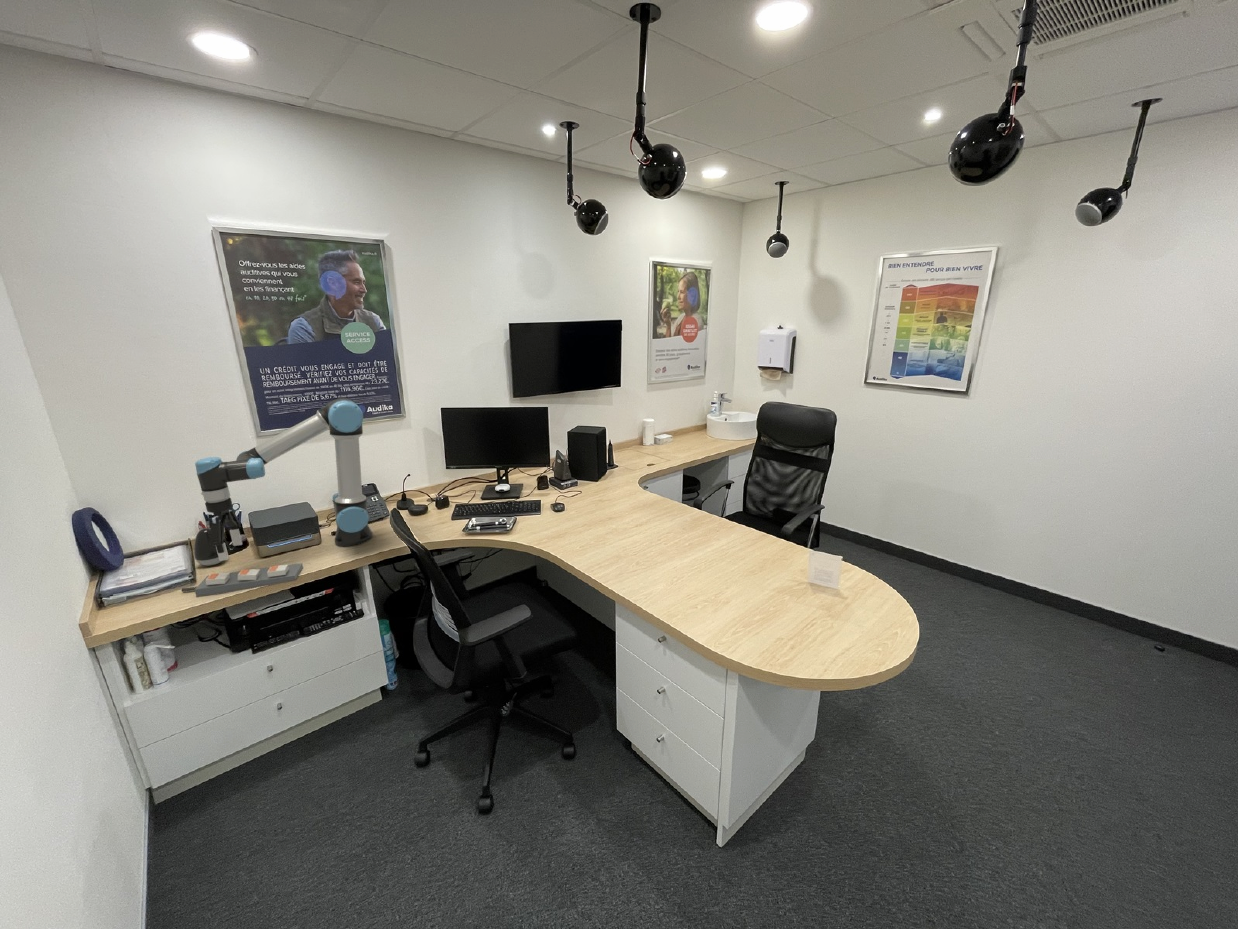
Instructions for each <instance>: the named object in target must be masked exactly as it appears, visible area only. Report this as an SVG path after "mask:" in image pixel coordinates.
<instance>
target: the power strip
mask: <svg viewBox="0 0 1238 929" xmlns="http://www.w3.org/2000/svg"><path fill="white" fill-rule="evenodd" d="M287 565H288V566H289V570H288V572H287V573H286V575H280V576H272V577H268V574H267V572H268V570H269V569H270V567H271V566H269V567H263V568H259V569H260V575H259V576H258V578H257V579H256V580H238V574H239V573H240V572H241V570H240V571H232V572H229V573H230V578H229V580H228V581H227V582H226V583H225V584H213V585H206V579H207V578H208V577H209V576H210V575H211V574H210V575H209V574H208V575H207V576H206V577H205V578H204V579H203V580H202V581H201V582H200V583H199V584H198V585H197V586H190V587H182V588H181V592H183V593H184V592H191V591H194V592H195V593H194V594H195V597H196V598H199V597H200V598H201V597H207V596H213V595H220V594H226V593H234V592H240V591H243V590H244V591H245V590H250V589H254V588H255V589H256V588H260V587H266V586H272V585H276V584H282V583H288V582H294V581H297V579H298V577H299V575H300V573H301V572H302V570H303V569H304V566H303V562H301V563H294V564H293V563H292V564H287Z"/></svg>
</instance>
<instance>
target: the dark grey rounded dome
mask: <svg viewBox="0 0 1238 929" xmlns="http://www.w3.org/2000/svg"><path fill="white" fill-rule="evenodd" d="M193 556H194V560H195V561H196V562H197V564H198V565H202V566H209V567H210V566H211V567H212V566H215V565H217V564H220V563H222V561H219V557H218V553H217V550H216V546H215V545H211V527H206V528H202V529H200V530H198V532H197V533H196V536H195V538H194V545H193Z"/></svg>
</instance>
